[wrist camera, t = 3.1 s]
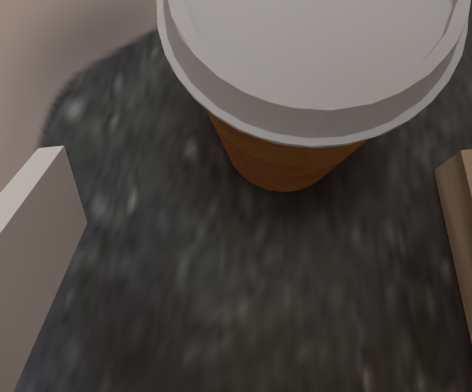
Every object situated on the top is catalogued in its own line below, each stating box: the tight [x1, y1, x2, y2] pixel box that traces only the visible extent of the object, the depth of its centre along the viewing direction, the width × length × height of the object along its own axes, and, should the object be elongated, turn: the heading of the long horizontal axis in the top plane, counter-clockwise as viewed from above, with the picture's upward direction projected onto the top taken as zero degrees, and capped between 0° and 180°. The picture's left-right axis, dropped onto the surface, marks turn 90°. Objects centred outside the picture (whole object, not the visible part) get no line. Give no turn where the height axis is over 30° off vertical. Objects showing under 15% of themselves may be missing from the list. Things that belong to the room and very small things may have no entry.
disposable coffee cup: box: [157, 0, 471, 192], centre depth 18 cm, size 10×10×12 cm
